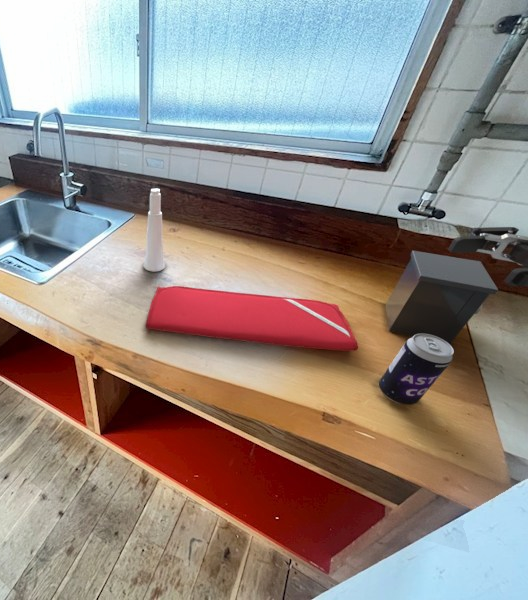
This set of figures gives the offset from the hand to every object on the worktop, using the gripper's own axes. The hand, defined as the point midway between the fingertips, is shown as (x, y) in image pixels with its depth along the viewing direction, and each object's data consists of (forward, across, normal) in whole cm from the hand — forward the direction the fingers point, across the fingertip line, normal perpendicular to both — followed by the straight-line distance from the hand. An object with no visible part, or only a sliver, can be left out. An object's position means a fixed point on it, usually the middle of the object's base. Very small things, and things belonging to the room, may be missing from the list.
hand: (479, 260), depth 43 cm
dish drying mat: (+22, -18, +25) cm, 38 cm away
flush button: (-19, -12, +19) cm, 30 cm away
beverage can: (+2, +3, +25) cm, 25 cm away
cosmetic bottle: (+39, -43, +25) cm, 64 cm away
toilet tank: (-14, -14, +25) cm, 32 cm away
